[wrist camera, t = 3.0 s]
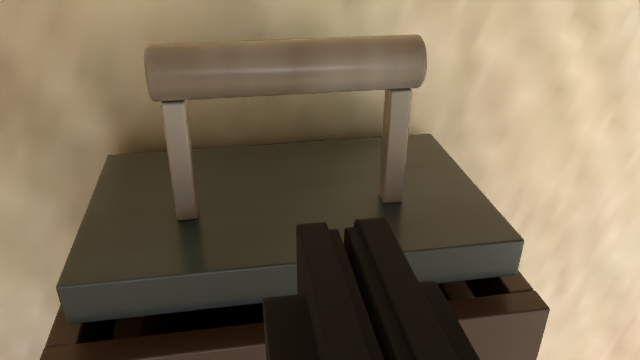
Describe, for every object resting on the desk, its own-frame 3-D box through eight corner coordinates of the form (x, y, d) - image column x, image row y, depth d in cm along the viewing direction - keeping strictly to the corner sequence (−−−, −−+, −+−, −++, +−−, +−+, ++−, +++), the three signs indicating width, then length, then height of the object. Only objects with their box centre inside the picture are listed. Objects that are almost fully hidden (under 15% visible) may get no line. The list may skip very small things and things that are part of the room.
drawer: (79, 10, 17) (-3, 86, 10) (445, 1, 19) (565, 59, 12) (159, 414, 25) (141, 588, 19) (403, 380, 27) (460, 529, 21)
